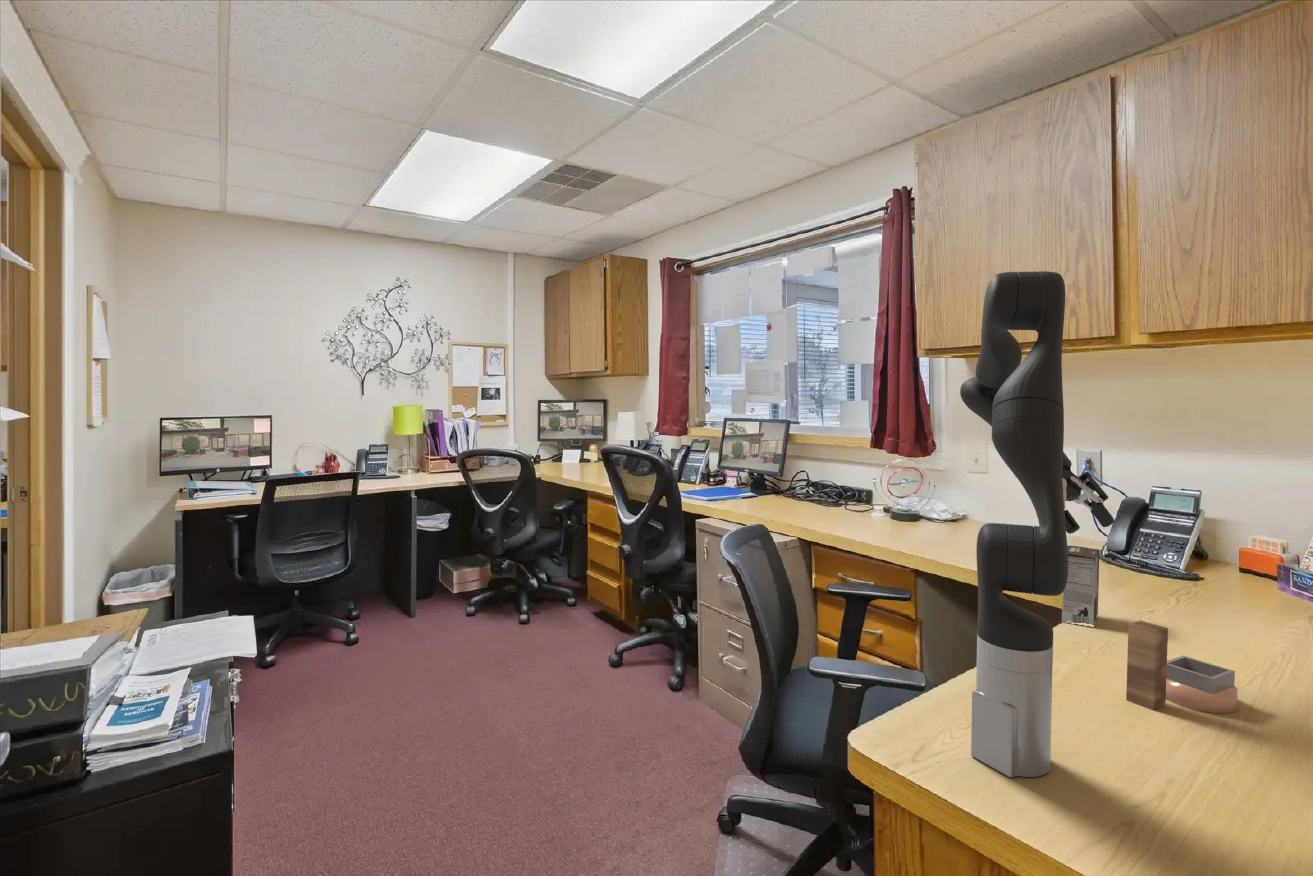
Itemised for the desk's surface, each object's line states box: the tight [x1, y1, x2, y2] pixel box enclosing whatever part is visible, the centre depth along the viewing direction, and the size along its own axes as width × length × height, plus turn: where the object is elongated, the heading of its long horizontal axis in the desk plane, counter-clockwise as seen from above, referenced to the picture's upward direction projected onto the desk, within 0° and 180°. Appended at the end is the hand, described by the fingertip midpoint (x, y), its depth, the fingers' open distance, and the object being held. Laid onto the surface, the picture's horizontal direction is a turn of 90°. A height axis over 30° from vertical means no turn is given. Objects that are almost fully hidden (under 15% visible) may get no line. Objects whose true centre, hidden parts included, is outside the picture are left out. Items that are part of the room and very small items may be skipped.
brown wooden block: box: [1125, 620, 1169, 711], centre depth 104 cm, size 4×4×13 cm
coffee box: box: [1061, 545, 1100, 626], centre depth 143 cm, size 9×6×16 cm
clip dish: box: [1166, 655, 1239, 714], centre depth 105 cm, size 10×10×6 cm
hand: (1092, 528), depth 111 cm, fingers open, 8 cm apart
